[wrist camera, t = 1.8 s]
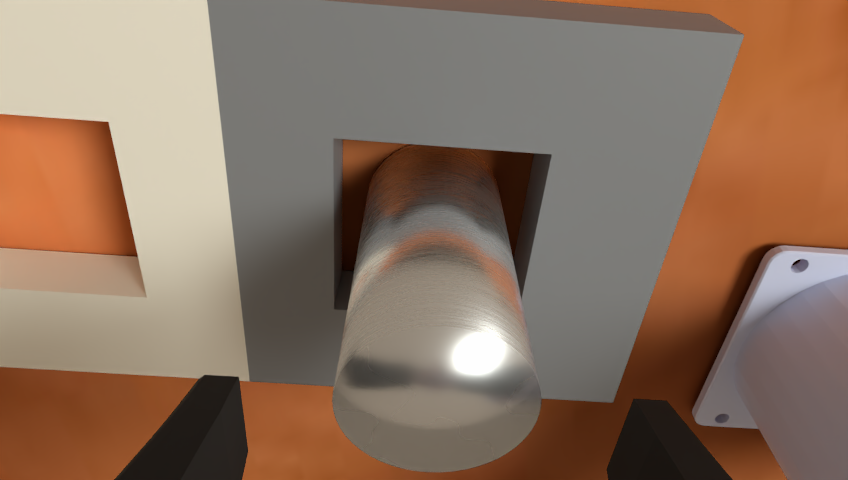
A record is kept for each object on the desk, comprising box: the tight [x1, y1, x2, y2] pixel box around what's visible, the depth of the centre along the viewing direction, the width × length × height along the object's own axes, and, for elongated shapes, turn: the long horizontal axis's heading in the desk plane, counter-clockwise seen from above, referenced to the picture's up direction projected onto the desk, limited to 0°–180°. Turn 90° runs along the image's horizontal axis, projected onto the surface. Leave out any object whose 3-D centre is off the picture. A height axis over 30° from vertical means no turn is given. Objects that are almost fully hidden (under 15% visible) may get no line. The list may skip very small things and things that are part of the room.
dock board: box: [0, 0, 744, 403], centre depth 17 cm, size 24×12×2 cm, turn 86°
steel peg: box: [332, 144, 541, 472], centre depth 15 cm, size 4×4×8 cm
